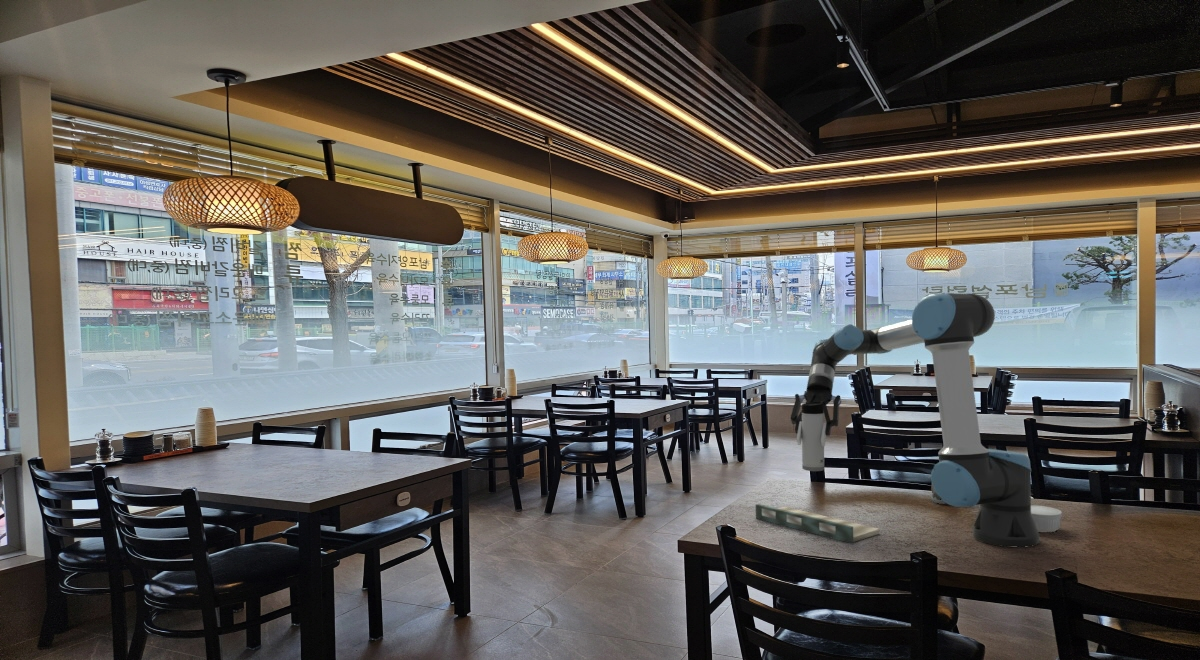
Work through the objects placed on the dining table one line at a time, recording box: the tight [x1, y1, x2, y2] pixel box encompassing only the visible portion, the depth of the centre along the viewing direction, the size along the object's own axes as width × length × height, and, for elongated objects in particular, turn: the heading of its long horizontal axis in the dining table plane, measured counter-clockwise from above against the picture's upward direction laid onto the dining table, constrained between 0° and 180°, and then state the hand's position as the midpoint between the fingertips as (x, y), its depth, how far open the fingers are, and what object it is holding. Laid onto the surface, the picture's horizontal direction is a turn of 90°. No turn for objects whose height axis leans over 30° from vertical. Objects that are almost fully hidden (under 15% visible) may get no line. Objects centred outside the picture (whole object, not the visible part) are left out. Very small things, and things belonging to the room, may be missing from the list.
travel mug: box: [801, 401, 825, 472], centre depth 217 cm, size 6×7×20 cm
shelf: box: [755, 503, 881, 543], centre depth 207 cm, size 32×13×4 cm, turn 37°
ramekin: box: [1031, 504, 1063, 532], centre depth 201 cm, size 11×11×5 cm
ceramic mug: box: [930, 484, 947, 505], centre depth 232 cm, size 11×8×8 cm
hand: (810, 442), depth 214 cm, fingers closed on travel mug, 6 cm apart
